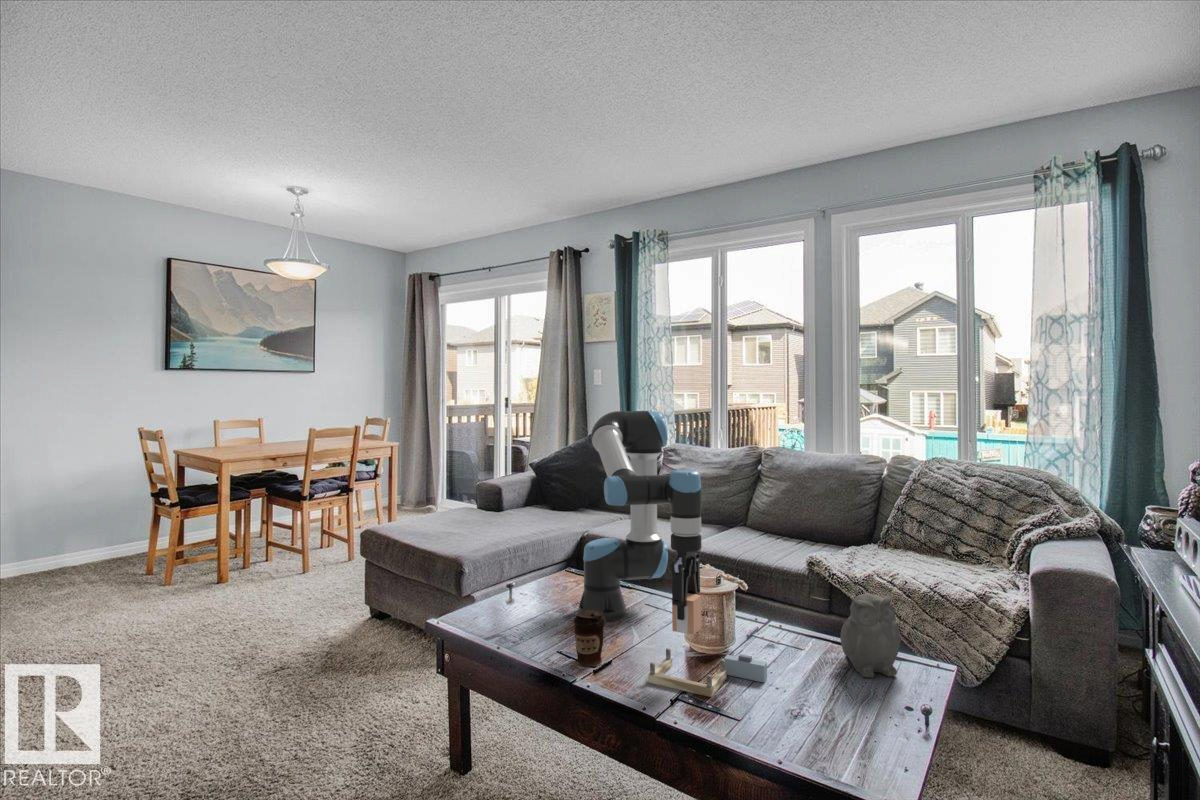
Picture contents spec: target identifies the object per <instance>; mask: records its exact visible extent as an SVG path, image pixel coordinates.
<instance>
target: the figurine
mask: <svg viewBox="0 0 1200 800" xmlns="http://www.w3.org/2000/svg"><path fill="white" fill-rule="evenodd" d="M850 600H851V604H850V606H849V611H850V614H849V616H848V617H847V619H846V620H845V621H844V622H843V625H842V626H841V629H840V635H839V636H840V645H841V648H842V651H843V653H844V655H845V656H846V657H847V658H849V660H850V663H851V664H852V666H853V668H854V670H855V671H856V672H858V673H859V674H860V675H861V677H864V678H874V676H875V673H880V674H883V675H884V676H887V677H895V676H896V675H897V673H898V670H897V668H896V667H894V663H895V662H896V660H897V657H898V654H899V648H900V646H901V642H902V641H901V635H900V634H901V633H900V628H899V626H898V623H897V622H896V621H895V618H896V610H895V608H894V606H893V605H891V601H892V600H893V595H892V593H891V592H888V593H886V595H885V596H884V597H882V596H880V595H878V594H877V595H876V594H872V593H861V594H859V595H857V596H855V597H852V596H850Z"/></svg>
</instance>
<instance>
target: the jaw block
mask: <svg viewBox="0 0 1200 800" xmlns="http://www.w3.org/2000/svg"><path fill="white" fill-rule="evenodd" d="M686 605H688V633H687V634H688V635H693V636H695V634H697V632H699V631H700V630H701V629H702V628H703V625H702V624H703V623H702V621H703V620H702V619H703V618H702V617H703V615H702V594H701V595H697V594H690V593H687V602H686ZM671 606H672V607H671V608H672V609H671V614H672V615H671V617H672V621H671V623H672V627H671V628H672V632H675V633H678V632H677V620H676V605H673V604H672V603H671Z"/></svg>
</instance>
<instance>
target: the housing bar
mask: <svg viewBox="0 0 1200 800" xmlns="http://www.w3.org/2000/svg"><path fill="white" fill-rule="evenodd" d="M723 659H724V660H725V670H727V676H732V677H735V678H741V679H745V680H750V681H756V682H759V683H760V682H761V683H766V681H767V679H768V664H767V663H768V662H766V661H763V660H758V659H757V660H756V659H753V656H751V655H747V654H739V655H738V656H736V655H732V654H726V656H725V657H724V658H723Z"/></svg>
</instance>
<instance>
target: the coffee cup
mask: <svg viewBox="0 0 1200 800" xmlns="http://www.w3.org/2000/svg"><path fill="white" fill-rule="evenodd" d="M605 620H606V618H605V617H604V616H603V612H601V611H597V610H586V611H582V612H579V611H577V613H576V616H575V617H574V619H573V625H574V638H575V650H576V655H577V663H578V665H579V666H583V667H597V666H600V665H602V663H603V661H602V651H603V646H604V635H605V634H604V633H605V632H604V631H605V625H606V621H605Z"/></svg>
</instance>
